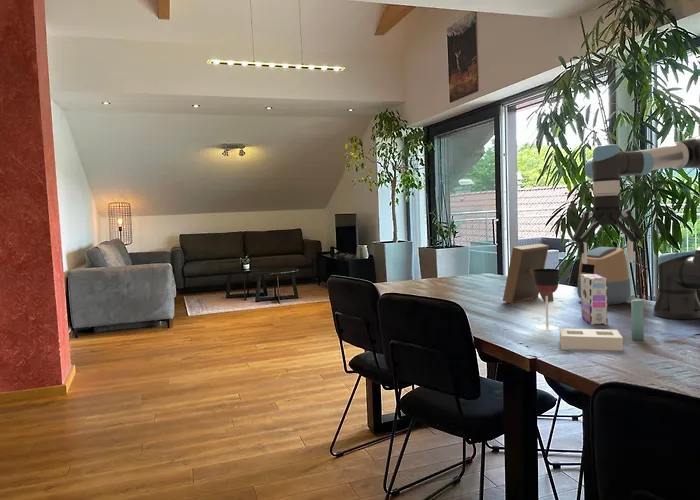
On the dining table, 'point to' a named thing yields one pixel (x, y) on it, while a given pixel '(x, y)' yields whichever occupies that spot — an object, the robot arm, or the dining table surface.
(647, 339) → the mat
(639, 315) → the peg
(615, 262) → the tan and grey appliance
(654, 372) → the dining table surface
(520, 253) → the photo frame
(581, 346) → the hole block
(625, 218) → the robot arm
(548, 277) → the wineglass
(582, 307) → the candy box
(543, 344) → the dining table surface
